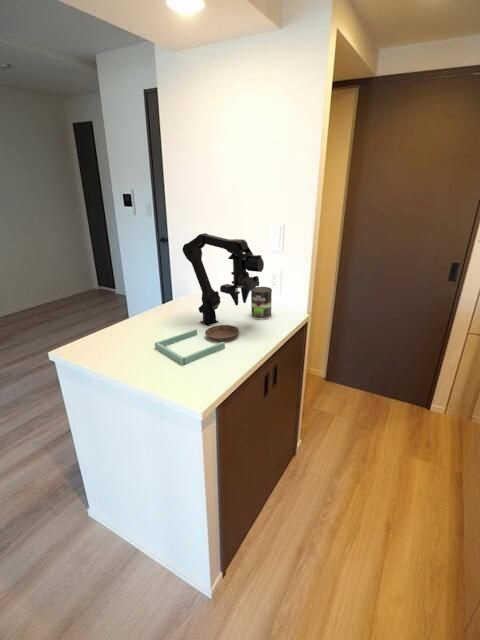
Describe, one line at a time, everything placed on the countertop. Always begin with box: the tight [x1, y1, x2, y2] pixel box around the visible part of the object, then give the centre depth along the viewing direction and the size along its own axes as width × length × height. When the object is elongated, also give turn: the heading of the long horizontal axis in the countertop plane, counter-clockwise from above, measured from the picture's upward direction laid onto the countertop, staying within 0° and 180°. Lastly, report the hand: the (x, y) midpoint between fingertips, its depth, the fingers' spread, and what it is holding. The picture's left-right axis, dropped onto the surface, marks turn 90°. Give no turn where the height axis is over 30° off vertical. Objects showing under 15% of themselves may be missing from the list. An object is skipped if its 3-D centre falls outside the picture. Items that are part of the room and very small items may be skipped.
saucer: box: [204, 324, 240, 342], centre depth 145 cm, size 15×15×3 cm
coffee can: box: [250, 286, 273, 321], centre depth 165 cm, size 10×10×14 cm
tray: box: [154, 328, 226, 366], centre depth 134 cm, size 20×20×2 cm
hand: (240, 304), depth 148 cm, fingers open, 4 cm apart
